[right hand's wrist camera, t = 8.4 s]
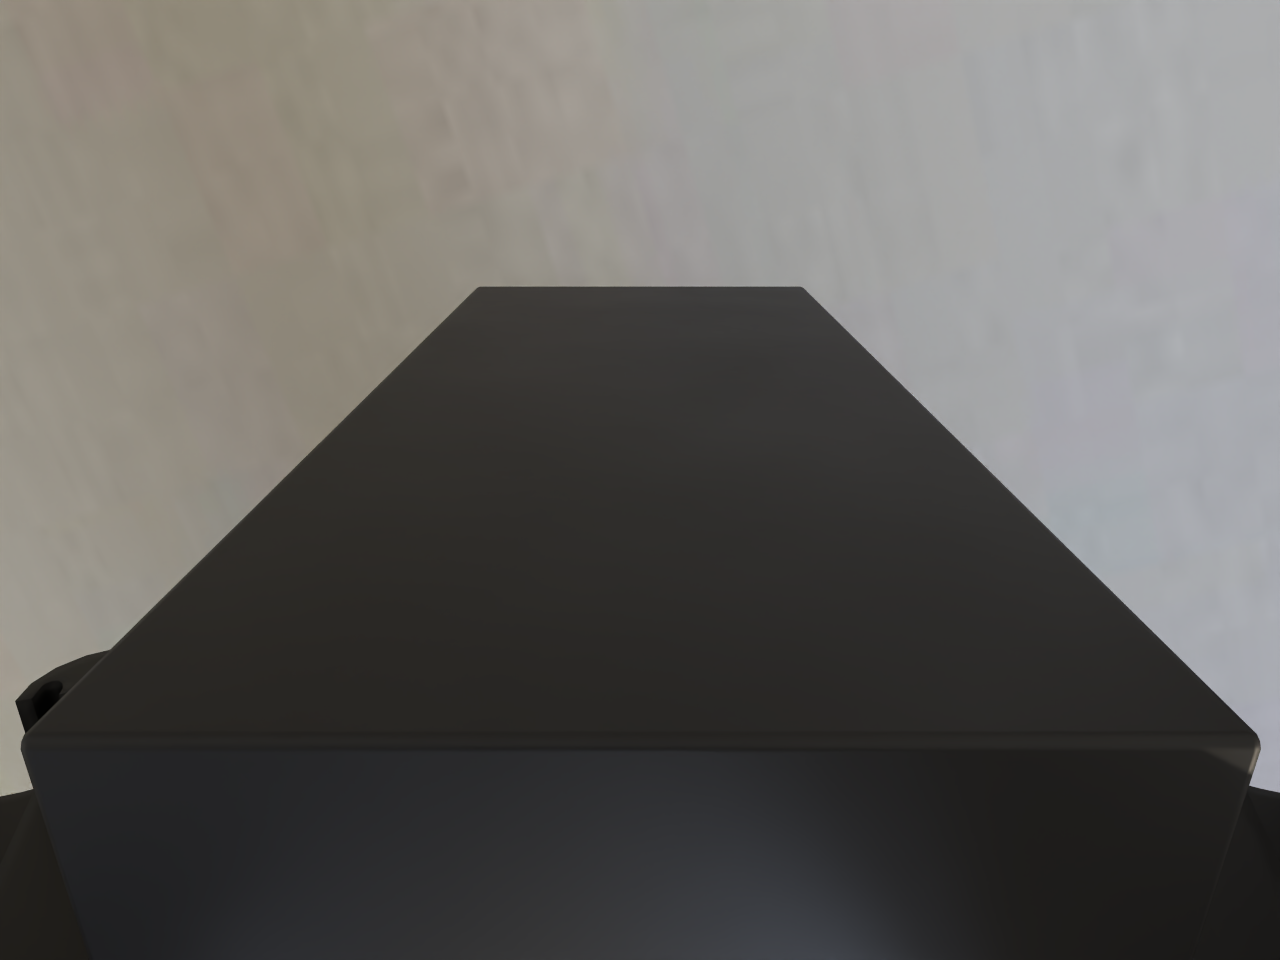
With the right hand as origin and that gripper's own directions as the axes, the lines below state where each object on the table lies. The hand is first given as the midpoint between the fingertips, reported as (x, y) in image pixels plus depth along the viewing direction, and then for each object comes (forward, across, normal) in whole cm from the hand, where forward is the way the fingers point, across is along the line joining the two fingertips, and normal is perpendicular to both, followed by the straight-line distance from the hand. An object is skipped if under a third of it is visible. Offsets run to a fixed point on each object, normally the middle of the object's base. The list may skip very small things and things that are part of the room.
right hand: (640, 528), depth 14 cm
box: (+3, 0, -10) cm, 10 cm away
